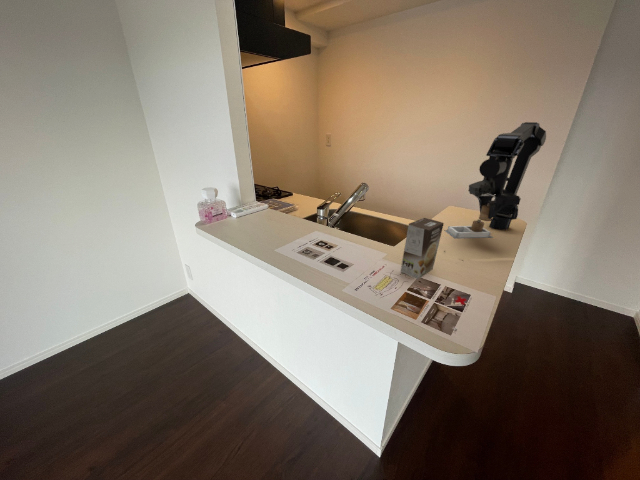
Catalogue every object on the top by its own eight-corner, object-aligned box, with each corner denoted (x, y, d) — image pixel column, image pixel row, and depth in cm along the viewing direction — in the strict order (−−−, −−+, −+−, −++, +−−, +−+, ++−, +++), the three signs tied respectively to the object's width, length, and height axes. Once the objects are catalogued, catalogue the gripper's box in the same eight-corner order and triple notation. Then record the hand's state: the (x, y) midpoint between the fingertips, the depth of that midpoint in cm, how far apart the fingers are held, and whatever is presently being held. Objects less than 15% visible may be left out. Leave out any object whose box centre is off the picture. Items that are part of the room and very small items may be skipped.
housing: (479, 231, 110) (481, 225, 109) (492, 239, 102) (494, 233, 101) (443, 232, 109) (444, 225, 107) (454, 240, 101) (455, 233, 100)
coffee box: (418, 280, 76) (428, 230, 69) (399, 271, 80) (407, 223, 73) (433, 269, 81) (444, 222, 75) (415, 262, 86) (423, 216, 79)
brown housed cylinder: (476, 231, 107) (480, 218, 105) (483, 235, 104) (487, 221, 101) (467, 231, 107) (471, 218, 104) (473, 235, 103) (477, 221, 101)
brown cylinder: (486, 217, 97) (490, 201, 95) (493, 220, 94) (498, 205, 91) (476, 217, 97) (480, 202, 94) (483, 221, 93) (488, 205, 91)
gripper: (460, 169, 96) (451, 209, 103) (496, 179, 79) (482, 226, 86) (488, 169, 97) (477, 208, 104) (529, 179, 80) (512, 225, 87)
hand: (485, 216), depth 95 cm, fingers closed on brown cylinder, 4 cm apart
